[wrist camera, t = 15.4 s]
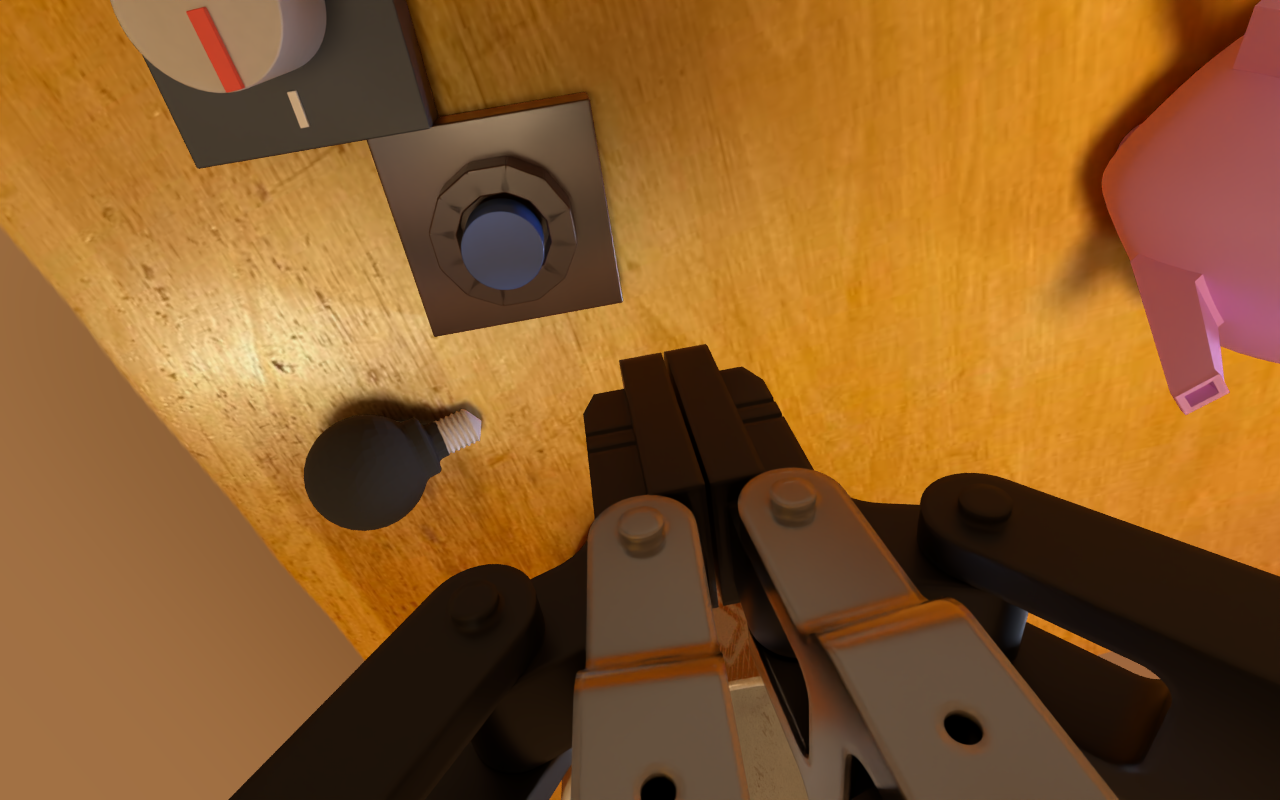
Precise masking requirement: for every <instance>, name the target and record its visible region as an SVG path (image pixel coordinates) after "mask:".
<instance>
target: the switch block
mask: <svg viewBox="0 0 1280 800" xmlns="http://www.w3.org/2000/svg"><path fill="white" fill-rule="evenodd" d="M367 142H368V145H369V148H370V151H371V154H372V157H373V160H374V163H375V166H376V169H377V172H378V175H379V177H380V180H381V183H382V186H383V189H384V192H385V195H386V198H387V201H388V204H389V207H390V209H391V212H392V215H393V218H394V221H395V224H396V227H397V230H398V233H399V236H400V239H401V242H402V244H403V247H404V250H405V253H406V256H407V259H408V262H409V265H410V268H411V271H412V274H413V277H414V279H415V282H416V285H417V288H418V291H419V294H420V297H421V300H422V303H423V306H424V309H425V312H426V314H427V317H428V320H429V323H430V326H431V329H432V332H433V335H434V336H435V337H437V336H442V335H447V334H453V333H458V332H464V331H469V330H475V329H480V328H486V327H491V326H496V325H502V324H507V323H513V322H518V321H524V320H529V319H535V318H540V317H545V316H551V315H556V314H562V313H567V312H573V311H578V310H584V309H589V308H594V307H600V306H605V305H611V304H616V303H622V302H623V297H622V291H621V285H620V279H619V273H618V267H617V261H616V255H615V249H614V243H613V237H612V231H611V225H610V219H609V213H608V206H607V200H606V194H605V188H604V182H603V176H602V170H601V164H600V158H599V152H598V146H597V140H596V134H595V128H594V122H593V116H592V110H591V104H590V99H589V97H588V95H587V93H586V92H581V93H575V94H569V95H564V96H558V97H552V98H546V99H540V100H535V101H529V102H523V103H517V104H511V105H506V106H500V107H494V108H488V109H482V110H476V111H471V112H465V113H459V114H453V115H447V116H442V117H438V118H437V119H436V121H435V122H434V124H433V125H432V126H431V128H430V129H426V130H420V131H414V132H408V133H403V134H397V135H391V136H385V137H379V138H374V139H368V140H367ZM496 198H507V199H512V200H516V201H518V202H521V203H522V204H524V205H526V206H527V207H528V208H530V209H531V210H532V211H533V212H534V213H535V215H536V216H537V217H538V219H539V221H540V223H541V225H542V229H543V234H544V260H543V264H542V267H541V269H540V271H539V272H538V274H537V275H536V276H535V278H534V279H533V280H531V281H530V282H529V283H527V284H526V285H524V286H522V287H519V288H516V289H511V290H499V289H494V288H491V287H488V286H486V285H484V284H482V283H480V282H479V281H477V280H476V279H475V278H474V277H473V276H472V275H471V274H470V273H469V271H468V270H467V268H466V266H465V265H464V262H463V259H462V255H461V241H462V237H463V233H464V229H465V226H466V223H467V220H468V218H469V216H470V214H471V213H472V212H473V210H474V209H475V208H476V207H478V206H479V205H480V204H482V203H484V202H486V201H488V200H491V199H496Z"/></svg>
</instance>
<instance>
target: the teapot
mask: <svg viewBox="0 0 1280 800" xmlns="http://www.w3.org/2000/svg"><path fill="white" fill-rule="evenodd" d="M1102 193H1103V196H1104V199H1105V203H1106V206H1107V209H1108V212H1109V214H1110V217H1111V219H1112V221H1113V224H1114V226H1115V229H1116V231H1117V233H1118V236H1119V238H1120V240H1121V242H1122V244H1123V246H1124V248H1125V251H1126V253H1127V255H1128V257H1129V259H1130V262H1131V265H1132V269H1133V272H1134V275H1135V279H1136V282H1137V285H1138V288H1139V292H1140V295H1141V298H1142V302H1143V305H1144V308H1145V311H1146V315H1147V318H1148V321H1149V324H1150V328H1151V331H1152V334H1153V338H1154V341H1155V344H1156V347H1157V351H1158V354H1159V357H1160V361H1161V364H1162V367H1163V370H1164V374H1165V377H1166V380H1167V384H1168V387H1169V390H1170V393H1171V395H1172V396H1173V398H1174V400H1175V401H1176V403H1177V405H1178V406H1179V408H1180V410H1181V411H1182V412H1183V413H1184V414H1185V415H1187V414H1189V413H1191V412H1193V411H1195V410H1197V409H1199V408H1201V407H1202V406H1204V405H1206V404H1208V403H1210V402H1212V401H1214V400H1216V399H1218V398H1220V397H1222V396H1224V395H1226V394H1228V393H1230V392H1229V390H1228V388H1227V386H1226V384H1225V382H1224V376H1223V367H1222V358H1221V348H1220V346H1222V347H1225V348H1227V349H1230V350H1233V351H1236V352H1239V353H1242V354H1245V355H1249V356H1252V357H1255V358H1259V359H1263V360H1267V361H1271V362H1275V363H1280V0H1261V1H1260V2H1259V3H1258V4H1256V5H1255V7H1254V10H1253V13H1252V16H1251V19H1250V21H1249V24H1248V27H1247V30H1246V33H1245V35H1243V36H1242V37H1240V38H1239V39H1237V40H1236V41H1235V42H1233V43H1232V44H1231V45H1229V46H1228V47H1227V48H1225V49H1224V50H1223V51H1221V52H1220V53H1219V54H1217V55H1216V56H1215V57H1214V58H1212V59H1211V60H1210V61H1209V62H1208V63H1206V64H1205V65H1204V66H1203V67H1202V68H1200V69H1199V70H1198V71H1197V72H1196V73H1195V74H1193V75H1192V76H1191V77H1190V78H1189V79H1188V80H1187V81H1186V82H1185V83H1184V84H1182V85H1181V86H1180V87H1179V88H1178V89H1177V90H1176V91H1175V92H1174V93H1173V94H1172V95H1171V96H1170V97H1169V98H1168V99H1167V100H1165V101H1164V102H1163V103H1162V104H1161V105H1160V106H1159V107H1158V108H1157V109H1156V110H1155V111H1154V112H1153V113H1152V114H1151V115H1150V116H1149V117H1148V118H1147V119H1146V120H1145V121H1144V122H1143V123H1142V124H1140V125H1138V126H1137V127H1135V128H1134V129H1132V130H1131V131H1130V132H1129V133H1128V134H1127V135H1126V136H1125V137H1124V139H1123V140H1122V141H1121V143H1120V145H1119V147H1118V149H1117V152H1116V153H1115V155H1114V156H1113V157H1112V159H1111V160H1110V161H1109V163H1108V165H1107V167H1106V169H1105V171H1104V174H1103V178H1102Z"/></svg>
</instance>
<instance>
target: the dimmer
mask: <svg viewBox="0 0 1280 800" xmlns="http://www.w3.org/2000/svg"><path fill="white" fill-rule="evenodd" d="M110 1H111V4H112V7H113V10H114V12H115V15H116V17H117V19H118V21H119V23H120V25H121V27H122V28H123V30H124V32H125V33H126V35H127V37H128V38H129V39H130V41H131V42H132V43H133V44H134V46H135V47H136V48H137V49H138V50H139V52H140V53H141V54H142V55H143V56H144V57H145V58H146V59H147V60H148V61H149V62H151V63H152V64H153V65H154V66H155V67H156V68H158V69H159V70H161V71H162V72H163V73H165V74H166V75H168V76H169V77H171V78H173V79H174V80H176V81H178V82H180V83H182V84H184V85H187V86H189V87H192V88H195V89H198V90H203V91H207V92H214V93H231V92H237V91H241V90H244V89H247V88H250V87H252V86H255V85H257V84H260V83H263V82H265V81H268V80H270V79H273V78H275V77H278V76H280V75H283V74H285V73H288V72H290V71H293V70H295V69H297V68H299V67H301V66H303V65H304V64H306V63H307V62H308V61H309V60H310V59H311V58H312V57H313V56H314V55H315V54H316V52H317V51H318V49H319V48H320V45H321V43H322V41H323V38H324V35H325V29H326V5H325V1H324V0H110Z"/></svg>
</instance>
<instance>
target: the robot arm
mask: <svg viewBox="0 0 1280 800" xmlns="http://www.w3.org/2000/svg"><path fill="white" fill-rule="evenodd" d="M619 363H620V369H621V375H622V381H623V386H624V389H621V390H615V391H610V392H605V393H599V394H594V395H593V397H592V399H591V401H590V403H589V404H588V406H587V408H586V410H585V412H584V414H583V415H584V424H585V433H586V442H587V451H588V461H589V470H590V479H591V488H592V497H593V506H594V515H595V521H594V522H593V524H592V525H591V528H590V530H589V533H588V540H587V542H586V543H585V545H584V546H583V547H582V548H581V549H580V550H579V551H578V552H577V553H576V554H575V555H574V556H573V557H572V558H570V559H569V560H567V561H566V562H564V563H563V564H561V565H559V566H557V567H555V568H553V569H551V570H549V571H547V572H545V573H543V574H541V575H539V576H536V577H534V578H532V579H529V578H528V576H527V575H526V574H524V573H523V572H522V571H520V570H518V569H516V568H514V567H511V566H507V565H501V564H488V565H481V566H477V567H473V568H470V569H467V570H465V571H462V572H460V573H458V574H456V575H454V576H452V577H451V578H449V579H448V580H446V581H445V582H444V583H442V584H441V585H440V586H439V587H438V588H437V589H435V590H434V591H433V592H432V593H431V594H430V595H429V596H428V597H427V598H426V599H425V600H424V601H423V602H422V603H421V605H420V606H419V607H418V608H417V609H416V610H415V611H414V612H413V613H412V614H411V615H410V616H409V617H408V618H407V619H406V620H405V621H404V622H403V623H402V624H401V625H400V626H399V627H398V628H397V629H396V630H395V631H394V632H393V633H392V634H391V635H390V636H389V637H388V638H387V639H386V640H385V641H384V642H383V643H382V644H381V645H380V646H379V647H378V648H377V649H376V650H375V651H374V652H373V653H372V654H371V655H370V656H369V657H368V658H367V659H366V660H365V661H364V662H363V663H362V664H361V665H360V667H359V668H358V669H357V670H356V671H355V672H354V673H353V674H352V675H351V676H350V677H349V678H348V679H347V680H346V681H345V682H344V683H343V684H342V685H341V686H340V687H339V688H338V689H337V690H336V691H335V692H334V693H333V694H332V695H331V696H330V697H329V698H328V699H327V700H326V701H325V702H324V703H323V704H322V705H321V706H320V707H319V708H318V709H317V710H316V711H315V712H314V713H313V714H312V715H311V716H310V717H309V718H308V719H307V720H306V721H305V722H304V723H303V724H302V726H301V727H299V729H298V730H297V731H296V732H295V733H294V734H293V735H292V736H291V737H290V738H289V739H288V740H287V741H286V742H285V743H284V744H283V745H282V746H281V747H280V748H279V749H278V750H277V751H276V752H275V753H274V754H273V755H272V756H271V757H270V758H269V759H268V760H267V761H266V762H265V763H264V764H263V765H262V766H261V767H260V768H259V769H258V770H257V771H256V772H255V773H254V774H253V775H252V776H251V777H250V778H249V779H248V780H247V781H246V782H245V783H244V784H243V785H242V786H241V788H240V789H238V790H237V792H236V793H235V794H234V795H233V796H232V797H231V798H230V799H229V800H549V799H550V797H551V796H552V794H553V793H554V791H555V789H556V788H557V786H558V785H559V783H560V782H561V780H562V778H563V777H564V775H565V774H566V772H567V771H568V769H569V767H570V766H571V764H572V768H571V800H750V795H749V790H748V785H747V779H746V774H745V769H744V763H743V758H742V752H741V747H740V742H739V736H738V731H737V726H736V720H735V715H734V710H733V704H732V699H731V693H730V688H729V683H728V677H727V672H726V667H725V662H724V658H723V654H722V651H720V648H719V643H718V637H717V632H716V626H715V621H714V616H713V608H717V607H719V605H718V596H717V587H718V590H719V593H720V597H721V600H722V603H723V606H726V605H731V604H736V603H741V605H742V608H743V611H744V614H745V617H746V620H747V626H748V639H749V648H750V651H751V654H752V657H753V659H754V662H755V664H756V667H757V669H758V671H759V674H760V676H761V679H762V681H763V684H764V686H765V688H766V691H767V693H768V696H769V698H770V700H771V703H772V705H773V708H774V710H775V713H776V715H777V717H778V720H779V722H780V725H781V727H782V730H783V732H784V734H785V737H786V739H787V742H788V744H789V747H790V749H791V751H792V754H793V756H794V759H795V761H796V763H797V766H798V768H799V771H800V774H801V777H802V780H803V783H804V786H805V789H806V793H807V797H808V800H1280V577H1279V576H1277V575H1274V574H1271V573H1268V572H1265V571H1263V570H1260V569H1257V568H1254V567H1251V566H1249V565H1246V564H1243V563H1240V562H1237V561H1234V560H1232V559H1229V558H1226V557H1223V556H1220V555H1218V554H1215V553H1212V552H1209V551H1206V550H1204V549H1201V548H1198V547H1195V546H1192V545H1190V544H1187V543H1184V542H1181V541H1178V540H1176V539H1173V538H1170V537H1167V536H1164V535H1162V534H1159V533H1156V532H1153V531H1150V530H1147V529H1145V528H1142V527H1139V526H1136V525H1133V524H1131V523H1128V522H1125V521H1122V520H1119V519H1117V518H1114V517H1111V516H1108V515H1105V514H1103V513H1100V512H1097V511H1094V510H1091V509H1089V508H1086V507H1083V506H1080V505H1077V504H1075V503H1072V502H1069V501H1066V500H1063V499H1060V498H1058V497H1055V496H1052V495H1049V494H1046V493H1044V492H1041V491H1038V490H1035V489H1032V488H1030V487H1027V486H1024V485H1021V484H1018V483H1016V482H1013V481H1010V480H1007V479H1004V478H1001V477H997V476H993V475H988V474H980V473H961V474H953V475H949V476H945V477H943V478H940V479H938V480H936V481H935V482H933V483H931V484H930V485H929V486H928V487H927V488H926V489H925V491H924V493H923V494H922V497H921V502H920V505H910V504H886V503H872V502H866V501H861V500H857V499H853V498H850V496H849V495H848V494H847V492H846V491H845V490H844V488H843V487H842V486H841V485H840V484H839V483H838V482H836V481H835V480H834V479H832V478H831V477H829V476H827V475H825V474H823V473H820V472H818V471H814V469H813V468H812V466H811V464H810V462H809V461H808V459H807V457H806V455H805V453H804V452H803V450H802V448H801V446H800V445H799V443H798V441H797V439H796V437H795V436H794V434H793V432H792V430H791V429H790V427H789V425H788V423H787V421H786V420H785V418H784V417H782V413H781V411H780V409H779V407H778V405H777V404H776V402H774V400H773V397H772V395H771V393H770V391H769V390H768V388H767V386H766V384H765V382H764V381H763V379H761V378H759V377H758V376H756V375H755V374H753V373H752V372H750V371H748V370H747V369H745V368H744V367H737V368H731V369H726V370H721V371H719V370H718V367H717V365H716V363H715V361H714V359H713V357H712V354H711V352H710V350H709V348H708V346H707V345H706V344H703V345H698V346H692V347H687V348H682V349H676V350H671V351H666V352H664V360H663V357H662V354H661V353H656V354H650V355H645V356H640V357H634V358H629V359H624V360H619ZM716 583H717V587H716ZM1028 613H1031V614H1033V615H1035V616H1038V617H1040V618H1042V619H1044V620H1046V621H1048V622H1051V623H1053V624H1055V625H1057V626H1059V627H1061V628H1063V629H1066V630H1068V631H1070V632H1072V633H1074V634H1076V635H1078V636H1081V637H1083V638H1085V639H1087V640H1089V641H1091V642H1093V643H1096V644H1098V645H1100V646H1102V647H1104V648H1106V649H1108V650H1111V651H1113V652H1115V653H1117V654H1119V655H1121V656H1123V657H1126V658H1128V659H1130V660H1132V661H1134V662H1136V663H1138V664H1140V665H1142V666H1144V667H1146V668H1147V669H1149V670H1151V671H1152V672H1153V673H1154V674H1156V675H1157V676H1158V677H1159V678H1160V679H1150V678H1146V677H1142V676H1139V675H1137V674H1134V673H1132V672H1130V671H1128V670H1126V669H1124V668H1122V667H1120V666H1118V665H1116V664H1113V663H1111V662H1109V661H1107V660H1105V659H1103V658H1101V657H1099V656H1097V655H1095V654H1092V653H1090V652H1088V651H1086V650H1084V649H1082V648H1080V647H1078V646H1076V645H1074V644H1071V643H1069V642H1067V641H1065V640H1063V639H1061V638H1059V637H1057V636H1055V635H1053V634H1050V633H1048V632H1046V631H1044V630H1042V629H1040V628H1038V627H1036V626H1034V625H1032V624H1029V623H1027V622H1026V620H1027V616H1028Z"/></svg>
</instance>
